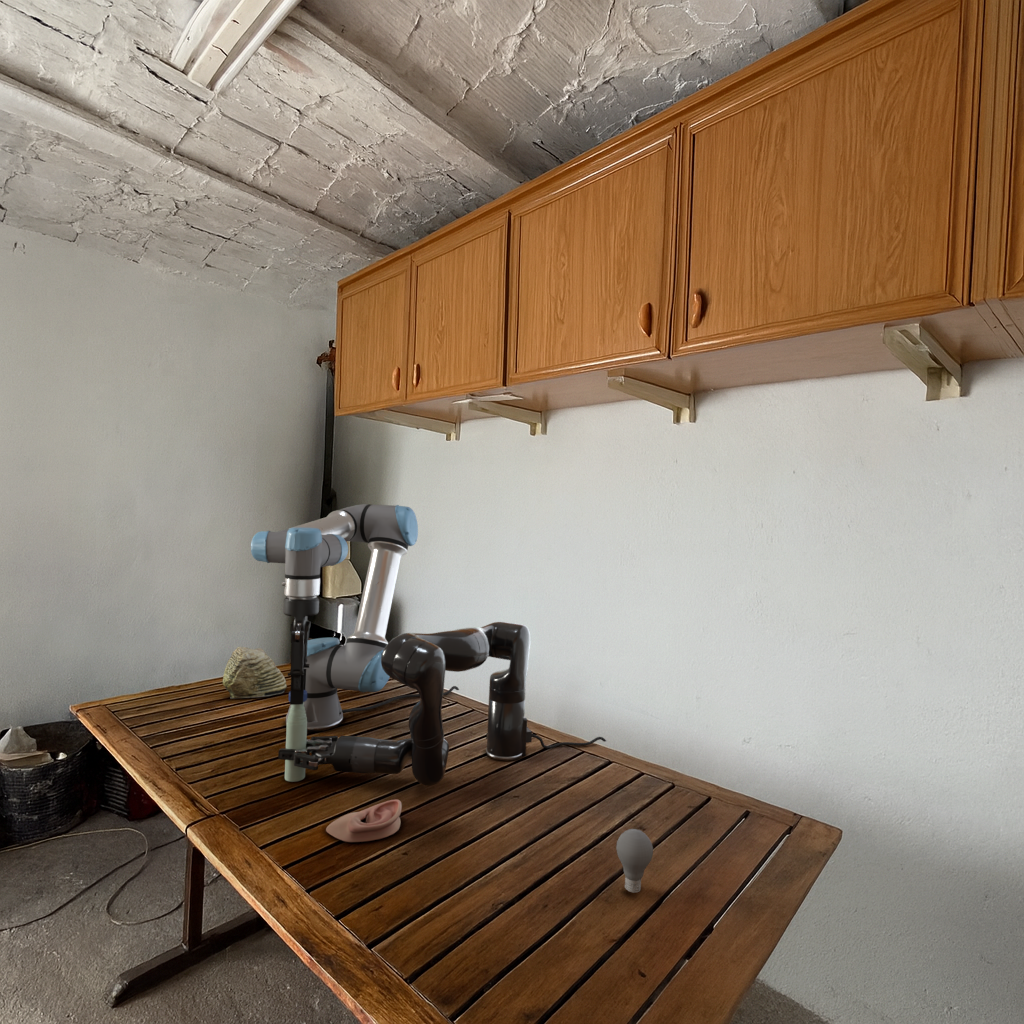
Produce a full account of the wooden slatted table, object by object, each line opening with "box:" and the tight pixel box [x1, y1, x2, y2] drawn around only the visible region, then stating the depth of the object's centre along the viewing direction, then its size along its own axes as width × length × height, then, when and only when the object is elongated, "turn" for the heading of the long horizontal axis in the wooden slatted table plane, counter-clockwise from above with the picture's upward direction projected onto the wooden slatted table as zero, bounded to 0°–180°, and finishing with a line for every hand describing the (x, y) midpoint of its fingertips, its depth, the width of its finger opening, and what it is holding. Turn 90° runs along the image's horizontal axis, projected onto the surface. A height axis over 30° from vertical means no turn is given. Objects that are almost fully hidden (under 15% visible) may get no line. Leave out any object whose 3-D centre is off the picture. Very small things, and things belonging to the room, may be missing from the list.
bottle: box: [284, 702, 308, 783], centre depth 142 cm, size 4×4×18 cm
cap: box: [288, 690, 307, 703], centre depth 142 cm, size 4×4×2 cm
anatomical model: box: [325, 799, 403, 843], centre depth 122 cm, size 13×4×12 cm
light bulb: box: [615, 828, 654, 894], centre depth 106 cm, size 6×6×10 cm
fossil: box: [222, 646, 288, 699], centre depth 198 cm, size 9×18×15 cm, turn 132°
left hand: (297, 700), depth 142 cm, fingers closed on cap, 4 cm apart
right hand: (284, 749), depth 142 cm, fingers closed on bottle, 4 cm apart
